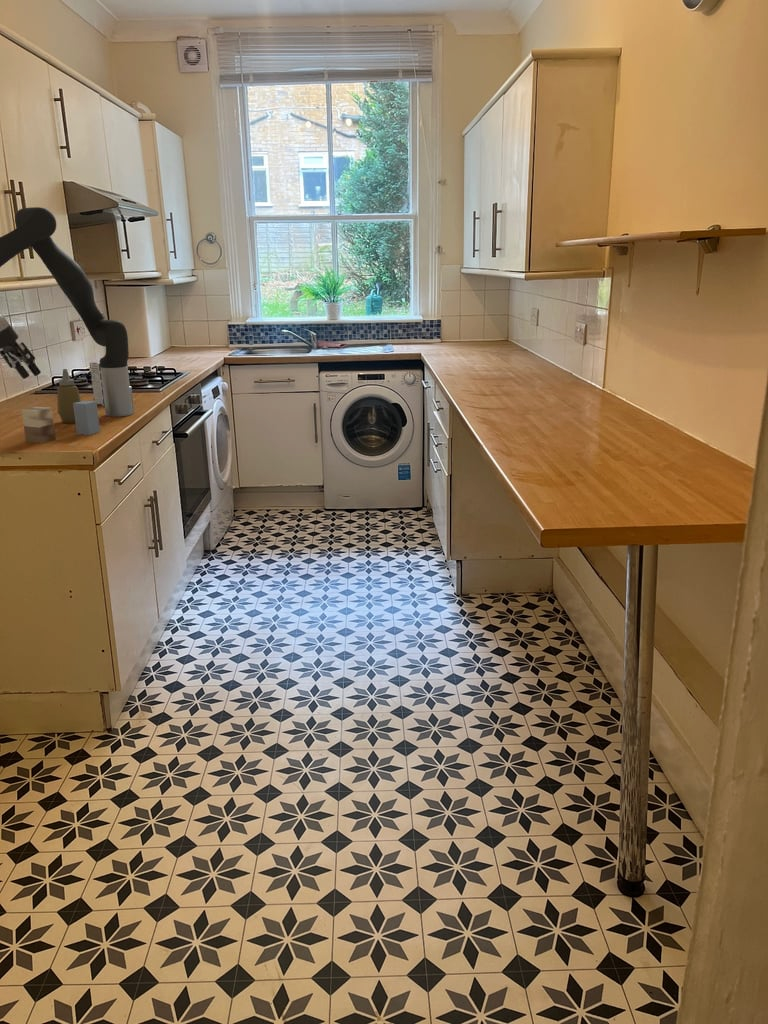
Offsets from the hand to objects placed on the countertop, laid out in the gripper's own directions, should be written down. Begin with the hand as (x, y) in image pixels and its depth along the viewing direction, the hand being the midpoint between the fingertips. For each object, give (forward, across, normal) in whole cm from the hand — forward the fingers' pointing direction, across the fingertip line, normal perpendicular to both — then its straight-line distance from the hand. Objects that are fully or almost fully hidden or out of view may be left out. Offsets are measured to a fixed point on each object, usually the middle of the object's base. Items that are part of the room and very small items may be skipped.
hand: (32, 376), depth 240 cm
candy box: (+31, +40, -36) cm, 62 cm away
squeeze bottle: (+22, +17, -8) cm, 29 cm away
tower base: (+16, -4, +12) cm, 21 cm away
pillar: (+23, -5, -1) cm, 24 cm away
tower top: (+12, -5, +10) cm, 16 cm away
